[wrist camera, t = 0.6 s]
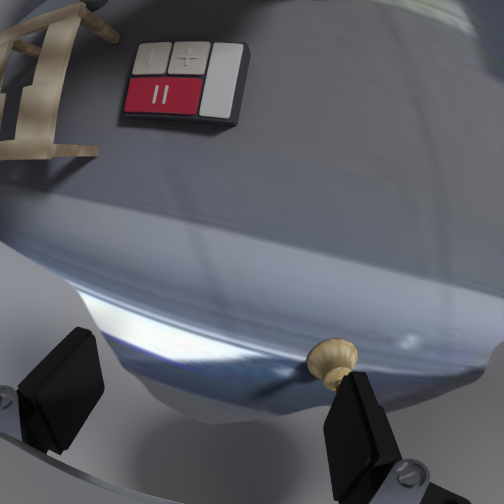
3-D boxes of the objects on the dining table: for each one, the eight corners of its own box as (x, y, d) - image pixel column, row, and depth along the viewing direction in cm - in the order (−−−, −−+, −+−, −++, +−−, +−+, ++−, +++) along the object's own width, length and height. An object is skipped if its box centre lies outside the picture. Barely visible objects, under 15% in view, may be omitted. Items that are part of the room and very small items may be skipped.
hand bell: (323, 331, 43) (345, 404, 28) (367, 347, 44) (399, 416, 28) (297, 370, 45) (306, 447, 30) (340, 384, 46) (359, 455, 30)
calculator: (136, 40, 30) (247, 39, 29) (149, 50, 34) (251, 52, 33) (119, 115, 33) (231, 122, 32) (134, 119, 37) (237, 127, 36)
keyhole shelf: (40, 50, 32) (-4, 34, 21) (122, 32, 32) (82, 1, 20) (20, 157, 38) (-29, 161, 26) (98, 158, 38) (46, 159, 26)
